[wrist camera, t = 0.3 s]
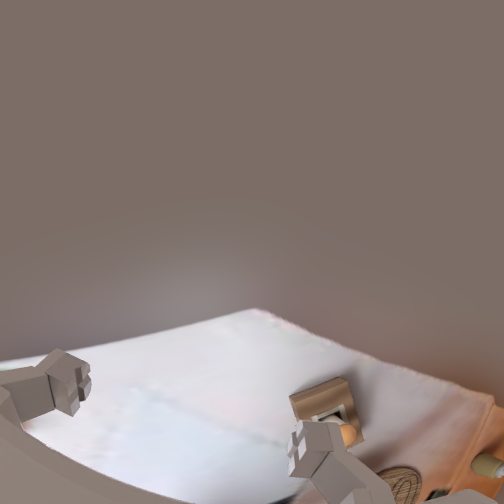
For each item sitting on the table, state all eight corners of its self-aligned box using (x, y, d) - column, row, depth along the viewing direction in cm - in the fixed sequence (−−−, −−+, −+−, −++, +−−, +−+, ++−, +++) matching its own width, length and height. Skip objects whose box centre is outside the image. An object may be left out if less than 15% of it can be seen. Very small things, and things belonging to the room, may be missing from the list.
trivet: (332, 537, 47) (334, 541, 46) (350, 475, 54) (352, 478, 52) (405, 519, 48) (408, 522, 47) (426, 458, 55) (430, 460, 53)
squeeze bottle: (472, 474, 52) (505, 488, 34) (465, 467, 53) (499, 482, 35) (486, 455, 53) (519, 466, 36) (479, 447, 55) (514, 459, 37)
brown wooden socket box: (354, 433, 57) (364, 441, 50) (307, 452, 55) (314, 463, 49) (337, 377, 60) (348, 381, 54) (288, 396, 58) (294, 403, 52)
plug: (336, 421, 56) (358, 440, 44) (317, 429, 56) (336, 450, 43) (331, 405, 57) (353, 421, 45) (312, 413, 57) (330, 431, 44)
